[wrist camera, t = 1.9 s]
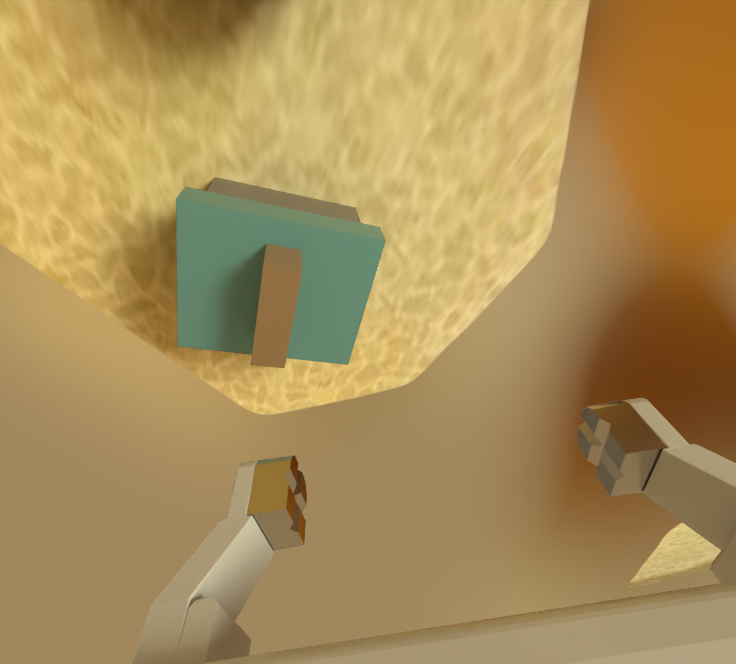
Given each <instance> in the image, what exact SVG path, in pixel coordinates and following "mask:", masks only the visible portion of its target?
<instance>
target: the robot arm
mask: <svg viewBox="0 0 736 664" xmlns="http://www.w3.org/2000/svg"><path fill="white" fill-rule="evenodd" d="M582 417H583V419H584V421H585V422H584V423H583V424H582V425H581V426H580V427H579V430H578V442H579V446H580V448H581V451H582V453H583V454H584V456H585V458H586V459H587V460H588V461H589V462H591V463H593V464H594V465H596V466H597V472H596V475H597V476H598V478H599V480H600V481H601V483H602V484H603V486H604V487H605V489H606V490H607V492H608V494H609V495H610V496H617V495H625V494H632V493H640V492H643V494H644V495H645V496H646V497H648V498H649V499H651V500H652V501H653V502H655V503H656V504H658V505H659V506H660V507H662V508H663V509H665V510H666V511H668V512H669V513H670V514H672V515H673V516H674V517H676V518H677V519H679V520H680V521H681V522H683V523H684V524H686V525H687V526H688V527H690V528H691V529H693V530H694V531H695V532H697V533H698V534H699V535H701V536H702V537H704V538H705V539H706V540H708V541H709V542H711V543H712V544H713V545H715V546H716V547H718V548H719V549H720V550H722V551H721V552H720V553H719V554H718V556H717V557H716V558H715V560H714V561H713V562H712V565H711V568H710V569H711V571H712V572H713V573H714V575H715V576H716V577H717V579H718V580H719V582H720V583H721V584H714V585H708V586H701V587H694V588H688V589H681V590H676V591H668V592H662V593H656V594H649V595H643V596H636V597H629V598H622V599H617V600H609V601H603V602H596V603H590V604H583V605H577V606H570V607H564V608H557V609H551V610H544V611H538V612H531V613H524V614H518V615H512V616H505V617H499V618H492V619H485V620H479V621H472V622H466V623H459V624H452V625H446V626H440V627H433V628H426V629H420V630H413V631H407V632H400V633H394V634H387V635H381V636H374V637H368V638H361V639H355V640H349V641H342V642H335V643H329V644H322V645H316V646H309V647H303V648H296V649H289V650H283V651H276V652H270V653H263V654H257V655H250V656H249V653H250V644H251V639H250V638H249V636H248V635H247V634H246V633H245V632H244V631H243V630H242V628H241V627H240V626H239V625H238V624H237V623H236V622H235V621H236V619H237V617H238V615H239V614H240V612H241V610H242V608H243V607H244V605H245V603H246V601H247V599H248V598H249V596H250V594H251V592H252V591H253V589H254V587H255V585H256V584H257V582H258V580H259V578H260V576H261V575H262V573H263V571H264V570H265V568H266V566H267V564H268V563H269V561H270V559H271V557H272V556H273V554H274V552H273V551H275V550H280V549H285V548H291V547H296V546H301V545H304V540H305V522H306V521H305V519H304V517H303V514H302V511H303V510H304V508H305V507H306V501H307V493H306V483H305V479H304V476H303V473H302V472H301V471H299V470H298V461H297V459H296V457H295V456H288V457H280V458H272V459H265V460H258V461H251V462H245V463H241V464H240V466H239V467H238V469H237V473H236V478H235V482H234V486H233V491H232V496H231V500H230V504H229V509H228V513H227V517H226V519H225V520H221V521H220V522H219V523H218V524H217V526H216V527H215V528H214V529H213V530H212V532H211V533H210V534H209V535H208V537H207V538H206V539H205V540H204V541H203V543H202V544H201V545H200V546H199V548H198V549H197V550H196V551H195V552H194V554H193V555H192V556H191V557H190V559H189V560H188V561H187V562H186V563H185V565H184V566H183V567H182V568H181V570H180V571H179V572H178V574H177V575H176V576H175V577H174V578H173V579H172V581H171V582H170V583H169V584H168V586H167V587H166V588H165V589H164V590H163V592H162V593H161V594H160V595H159V597H158V598H157V599H156V600H155V602H154V603H153V604H152V605H151V608H150V612H149V615H148V618H147V621H146V624H145V627H144V630H143V633H142V636H141V639H140V642H139V645H138V648H137V651H136V654H135V657H134V660H133V663H132V664H736V463H734V462H732V461H729V460H728V459H725V458H723V457H721V456H719V455H717V454H715V453H713V452H711V451H709V450H706V449H705V448H703V447H700V446H698V445H696V444H692V445H689V444H688V443H687V442H686V441H685V440H684V438H683V437H681V435H680V434H679V433H678V432H677V431H676V430H675V429H674V428H673V427H672V426H671V425H670V424H669V422H668V421H666V419H665V418H664V417H663V416H662V415H661V414H660V413H659V412H658V411H657V410H656V409H655V408H654V407H653V405H652V404H651V403H650V402H649V401H648V400H646V399H644V398H637V399H631V400H625V401H617V402H611V403H606V404H600V405H594V406H589V407H586V408H585V409H584V410H583V413H582Z"/></svg>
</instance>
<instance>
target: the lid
mask: <svg viewBox="0 0 736 664" xmlns="http://www.w3.org/2000/svg"><path fill="white" fill-rule="evenodd" d="M176 217H177V323H178V347H187V348H197V349H206V350H215V351H225V352H234V353H243V354H252V360H251V365H258V366H268V367H278V368H284V367H285V362H286V358H290V359H299V360H309V361H318V362H327V363H337V364H346V365H348V363H349V360H350V356H351V353H352V350H353V347H354V343H355V340H356V337H357V333H358V330H359V327H360V323H361V320H362V317H363V313H364V310H365V307H366V303H367V300H368V297H369V293H370V290H371V287H372V283H373V280H374V277H375V274H376V270H377V267H378V264H379V260H380V257H381V254H382V250H383V247H384V244H385V238H384V236H383V233H382V231H381V229H380V227H377V226H372V225H367V224H362V223H357V222H352V221H348V220H343V219H338V218H333V217H328V216H324V215H319V214H314V213H309V212H304V211H299V210H295V209H290V208H285V207H280V206H275V205H271V204H266V203H261V202H256V201H251V200H247V199H242V198H237V197H232V196H227V195H222V194H218V193H213V192H208V191H203V190H198V189H194V188H189V187H185V188H184V189H183V191H182V192H181V193H180V194H179V196H178V197H177V198H176Z"/></svg>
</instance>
